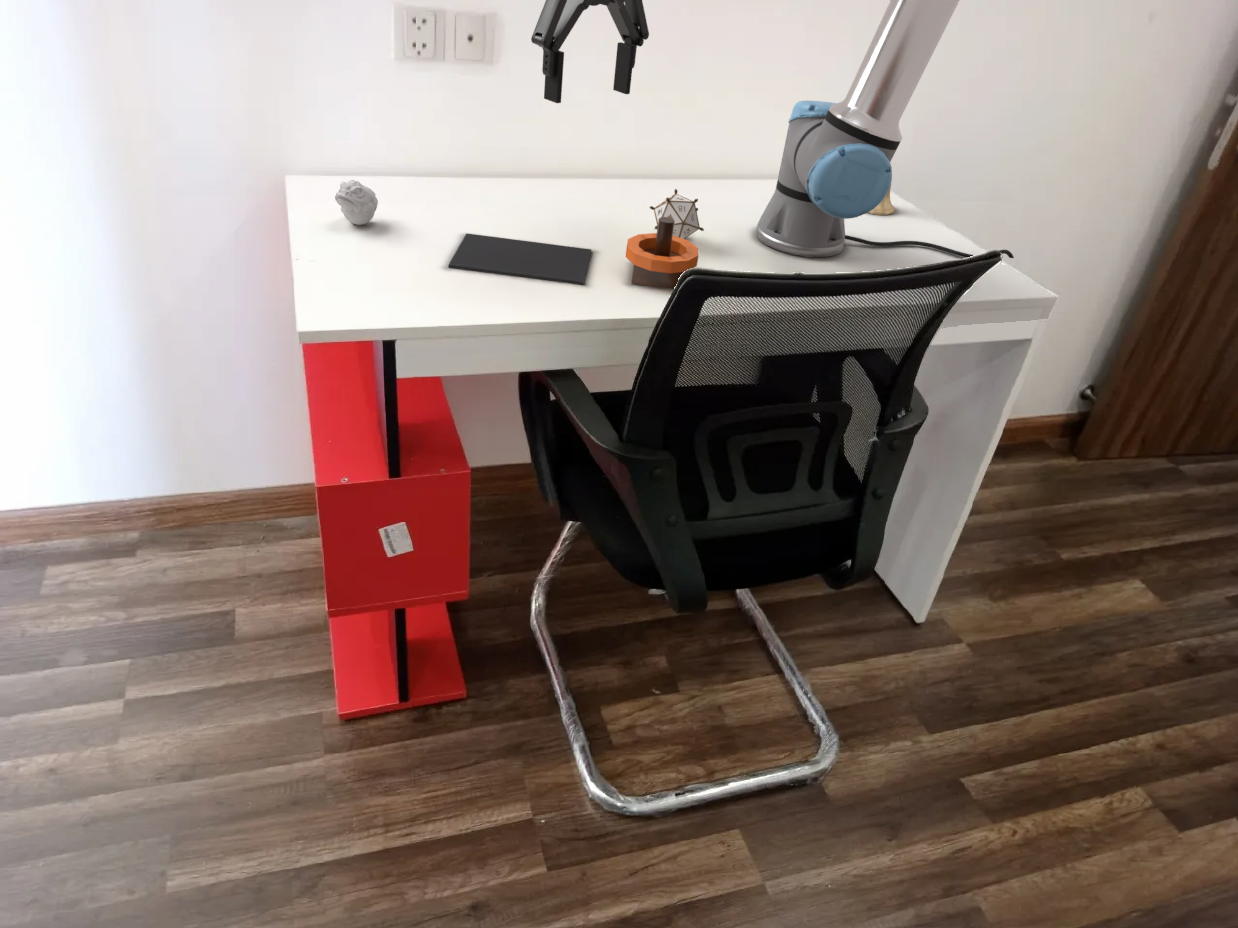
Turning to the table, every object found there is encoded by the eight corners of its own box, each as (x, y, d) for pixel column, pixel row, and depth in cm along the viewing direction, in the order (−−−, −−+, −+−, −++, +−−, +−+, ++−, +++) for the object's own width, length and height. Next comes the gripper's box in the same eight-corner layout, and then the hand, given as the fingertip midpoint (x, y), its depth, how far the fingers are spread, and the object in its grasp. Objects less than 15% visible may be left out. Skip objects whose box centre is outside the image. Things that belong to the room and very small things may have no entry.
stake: (684, 269, 142) (693, 214, 137) (684, 290, 136) (693, 233, 131) (634, 263, 142) (641, 207, 137) (631, 283, 136) (638, 226, 130)
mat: (591, 251, 144) (591, 249, 144) (583, 284, 133) (583, 282, 133) (466, 235, 144) (466, 233, 144) (448, 267, 133) (448, 264, 133)
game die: (665, 266, 152) (645, 226, 144) (657, 231, 157) (636, 190, 149) (716, 246, 150) (698, 204, 142) (706, 211, 155) (688, 169, 147)
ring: (696, 249, 142) (698, 238, 141) (696, 276, 133) (698, 265, 132) (627, 240, 142) (629, 229, 141) (623, 267, 133) (625, 256, 132)
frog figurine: (327, 225, 141) (324, 181, 137) (357, 213, 147) (354, 170, 143) (359, 235, 139) (356, 190, 136) (387, 223, 145) (386, 179, 141)
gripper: (646, -77, 128) (630, 82, 140) (508, -82, 112) (503, 97, 124) (686, -69, 124) (665, 94, 136) (548, -73, 108) (539, 112, 120)
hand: (587, 96), depth 130 cm, fingers open, 13 cm apart
